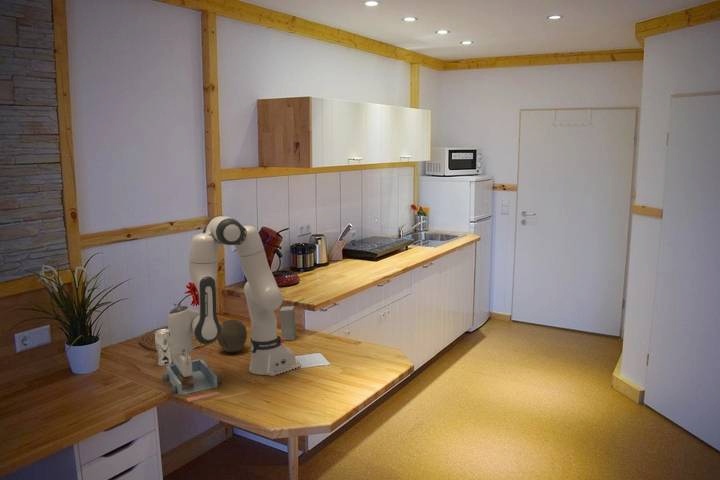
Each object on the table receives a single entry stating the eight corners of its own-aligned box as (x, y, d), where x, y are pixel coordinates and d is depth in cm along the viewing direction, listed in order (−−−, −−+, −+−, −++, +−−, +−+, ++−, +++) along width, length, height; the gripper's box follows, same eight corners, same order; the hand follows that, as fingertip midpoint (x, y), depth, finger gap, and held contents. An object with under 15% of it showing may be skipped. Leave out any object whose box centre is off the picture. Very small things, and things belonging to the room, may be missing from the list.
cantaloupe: (252, 352, 270) (251, 321, 267) (224, 358, 262) (222, 327, 260) (241, 343, 281) (239, 314, 279) (213, 349, 274) (211, 319, 271)
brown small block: (190, 383, 231) (190, 372, 231) (193, 387, 227) (193, 376, 226) (178, 385, 229) (177, 375, 228) (181, 390, 225) (180, 379, 224)
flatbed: (207, 370, 248) (206, 357, 247) (222, 389, 229) (222, 374, 228) (161, 380, 238) (160, 366, 237) (173, 400, 219) (172, 385, 218)
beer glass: (168, 366, 253) (165, 334, 250) (153, 365, 254) (151, 333, 252) (176, 360, 260) (174, 329, 257) (162, 359, 261) (160, 328, 259)
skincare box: (294, 340, 285) (293, 310, 283) (280, 340, 285) (279, 310, 283) (296, 335, 293) (295, 305, 291) (282, 335, 294) (281, 305, 291)
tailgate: (214, 388, 227) (219, 394, 220) (214, 391, 227) (220, 396, 220) (183, 395, 221) (188, 401, 214) (183, 398, 221) (188, 403, 214)
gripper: (195, 353, 223) (197, 387, 225) (183, 338, 240) (184, 369, 242) (179, 356, 219) (181, 390, 222) (167, 340, 237) (169, 372, 239)
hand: (182, 379), depth 232 cm, fingers closed
